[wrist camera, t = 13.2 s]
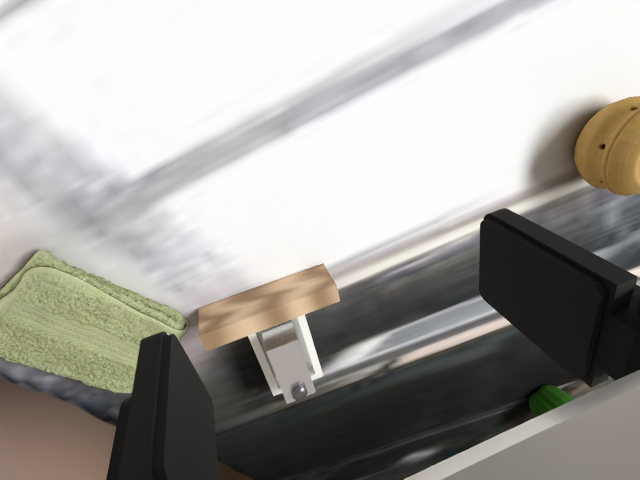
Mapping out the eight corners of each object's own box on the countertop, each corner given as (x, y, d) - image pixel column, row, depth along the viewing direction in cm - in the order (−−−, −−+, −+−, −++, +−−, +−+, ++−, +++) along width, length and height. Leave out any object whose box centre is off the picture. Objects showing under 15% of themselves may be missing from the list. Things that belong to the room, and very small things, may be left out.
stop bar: (288, 313, 49) (299, 342, 44) (305, 364, 54) (317, 395, 49) (259, 324, 48) (267, 355, 43) (279, 375, 53) (288, 407, 48)
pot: (607, 179, 56) (682, 203, 47) (547, 180, 52) (616, 206, 44) (644, 95, 51) (736, 105, 42) (579, 90, 47) (665, 100, 39)
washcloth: (38, 238, 36) (26, 254, 34) (195, 313, 45) (195, 330, 43) (-31, 332, 38) (-48, 355, 36) (132, 386, 47) (129, 407, 45)
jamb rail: (205, 322, 46) (207, 351, 42) (198, 308, 45) (199, 336, 40) (326, 278, 48) (340, 301, 44) (323, 263, 47) (336, 285, 43)
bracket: (271, 386, 54) (273, 396, 53) (243, 321, 47) (245, 330, 46) (319, 366, 55) (323, 375, 54) (299, 300, 49) (302, 308, 47)
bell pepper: (563, 378, 78) (608, 418, 70) (543, 406, 82) (584, 448, 73) (535, 379, 75) (578, 421, 67) (516, 408, 78) (555, 452, 70)
